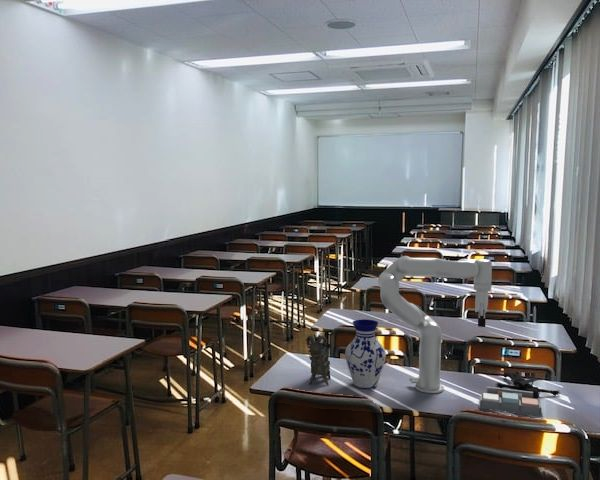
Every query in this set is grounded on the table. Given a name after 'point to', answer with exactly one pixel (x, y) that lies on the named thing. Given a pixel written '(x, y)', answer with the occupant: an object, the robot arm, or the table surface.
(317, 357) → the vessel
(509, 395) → the teal key
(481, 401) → the keypad
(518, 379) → the toy
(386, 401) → the table surface
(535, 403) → the terracotta key
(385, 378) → the table surface
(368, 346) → the vase
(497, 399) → the cream key
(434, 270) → the robot arm
